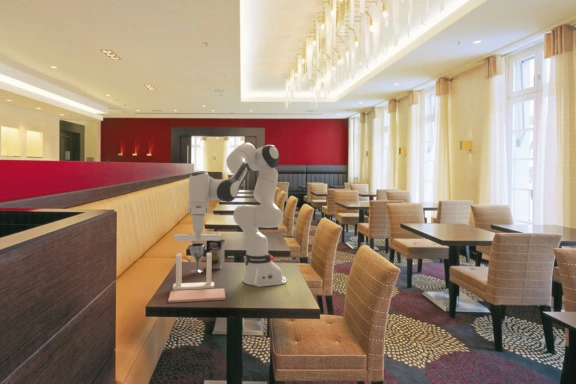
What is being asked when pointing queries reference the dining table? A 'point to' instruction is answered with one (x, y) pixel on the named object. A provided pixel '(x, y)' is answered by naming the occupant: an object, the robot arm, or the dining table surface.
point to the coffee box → (216, 252)
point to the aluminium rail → (193, 237)
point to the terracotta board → (197, 295)
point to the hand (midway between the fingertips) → (198, 239)
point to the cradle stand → (200, 285)
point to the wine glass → (197, 254)
